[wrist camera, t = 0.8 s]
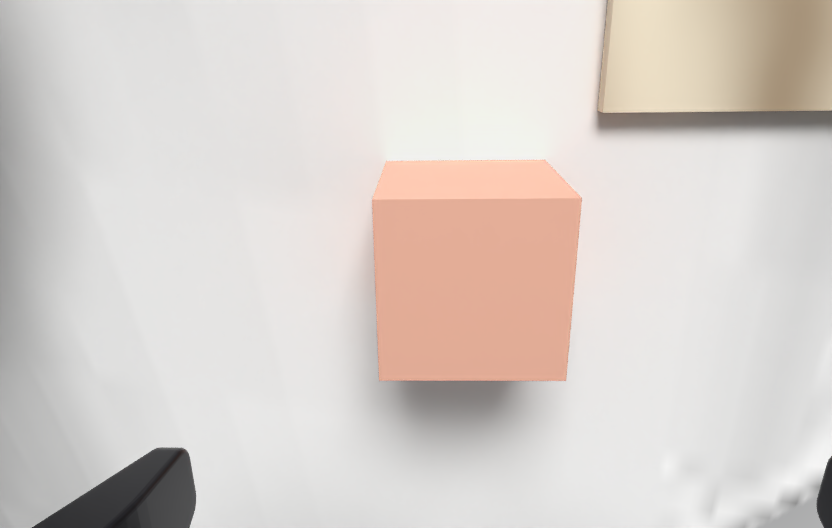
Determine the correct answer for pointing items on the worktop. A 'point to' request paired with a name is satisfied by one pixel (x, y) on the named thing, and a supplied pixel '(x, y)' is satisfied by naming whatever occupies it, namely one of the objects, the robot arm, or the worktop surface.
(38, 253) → the worktop surface
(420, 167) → the coral cube
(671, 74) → the birch board
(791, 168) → the worktop surface
